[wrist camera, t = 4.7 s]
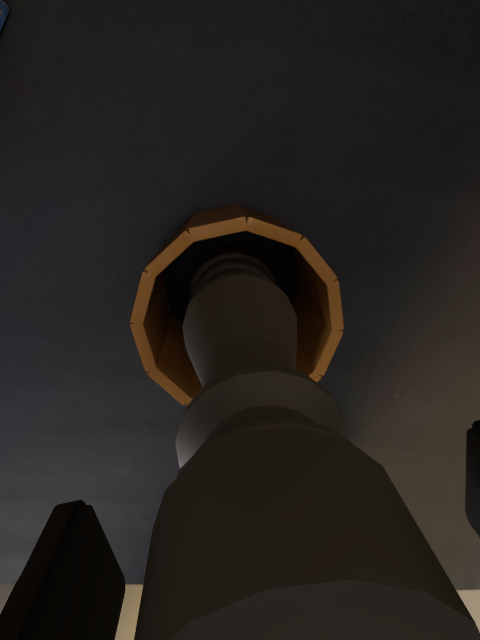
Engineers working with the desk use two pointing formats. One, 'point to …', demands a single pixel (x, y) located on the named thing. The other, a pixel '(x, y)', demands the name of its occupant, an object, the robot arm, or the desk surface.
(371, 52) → the desk surface
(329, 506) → the candle holder
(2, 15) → the stack of blocks
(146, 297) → the wooden planter pot
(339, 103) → the desk surface
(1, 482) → the desk surface
